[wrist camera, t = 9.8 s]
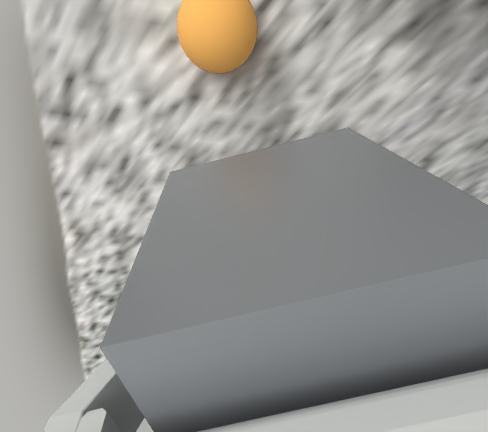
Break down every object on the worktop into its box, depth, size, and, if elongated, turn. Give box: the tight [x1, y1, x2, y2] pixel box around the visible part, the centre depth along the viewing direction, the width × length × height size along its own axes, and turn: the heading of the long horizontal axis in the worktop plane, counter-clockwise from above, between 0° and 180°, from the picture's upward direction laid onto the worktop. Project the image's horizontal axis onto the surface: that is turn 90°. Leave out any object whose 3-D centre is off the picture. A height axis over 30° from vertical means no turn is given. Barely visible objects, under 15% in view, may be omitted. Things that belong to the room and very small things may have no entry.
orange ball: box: [177, 0, 257, 73], centre depth 20 cm, size 5×5×5 cm
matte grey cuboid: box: [100, 128, 488, 432], centre depth 11 cm, size 7×7×9 cm
